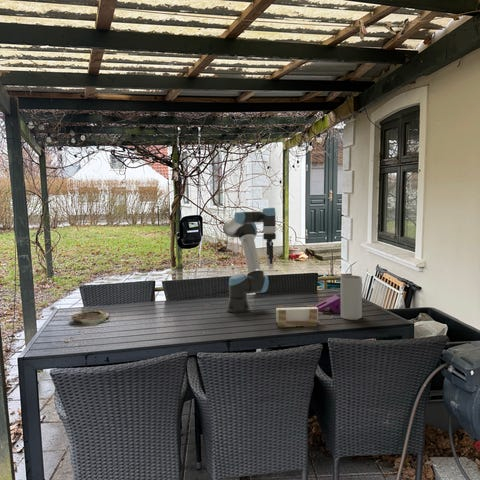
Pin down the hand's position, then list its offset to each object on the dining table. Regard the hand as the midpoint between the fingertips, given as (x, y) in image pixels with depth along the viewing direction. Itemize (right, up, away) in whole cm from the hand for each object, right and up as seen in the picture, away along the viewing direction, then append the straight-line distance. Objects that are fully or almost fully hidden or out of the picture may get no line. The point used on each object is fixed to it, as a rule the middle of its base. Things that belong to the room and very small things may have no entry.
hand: (270, 267), depth 262 cm
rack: (+15, -33, -12) cm, 38 cm away
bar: (+16, -30, -12) cm, 36 cm away
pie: (-114, -35, +7) cm, 119 cm away
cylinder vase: (+50, -31, 0) cm, 59 cm away
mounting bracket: (+38, -30, +16) cm, 51 cm away
